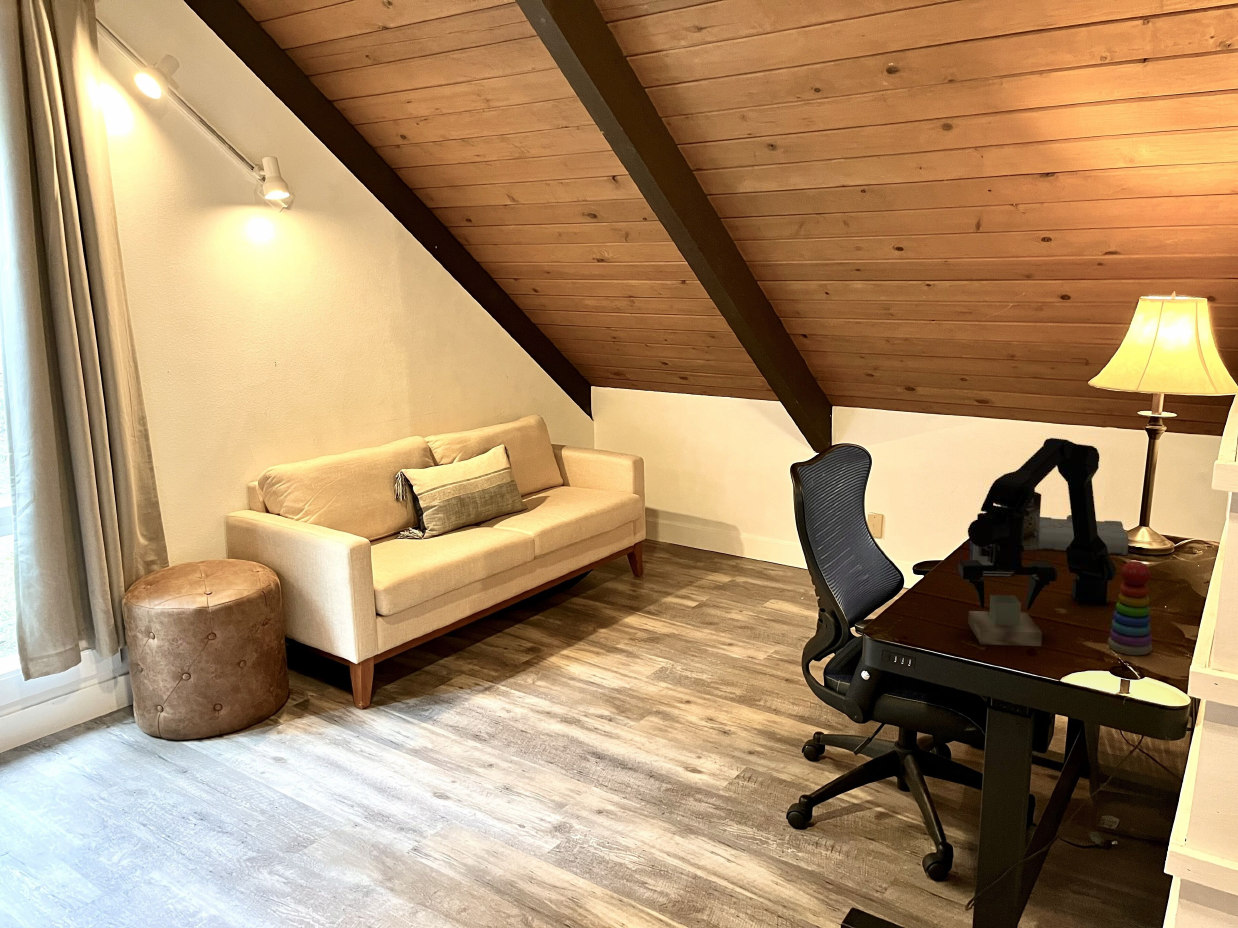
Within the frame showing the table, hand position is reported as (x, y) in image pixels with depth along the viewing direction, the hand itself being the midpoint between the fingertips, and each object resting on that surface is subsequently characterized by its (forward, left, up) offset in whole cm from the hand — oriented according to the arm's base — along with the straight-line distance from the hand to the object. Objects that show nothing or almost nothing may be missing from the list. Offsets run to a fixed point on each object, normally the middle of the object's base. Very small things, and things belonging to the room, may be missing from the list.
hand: (1004, 608), depth 195 cm
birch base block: (0, 0, -6) cm, 6 cm away
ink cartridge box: (-7, -44, -6) cm, 45 cm away
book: (-40, -72, -6) cm, 83 cm away
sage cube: (0, 0, -3) cm, 3 cm away
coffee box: (-20, -69, -6) cm, 72 cm away
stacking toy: (-23, +6, -6) cm, 24 cm away
